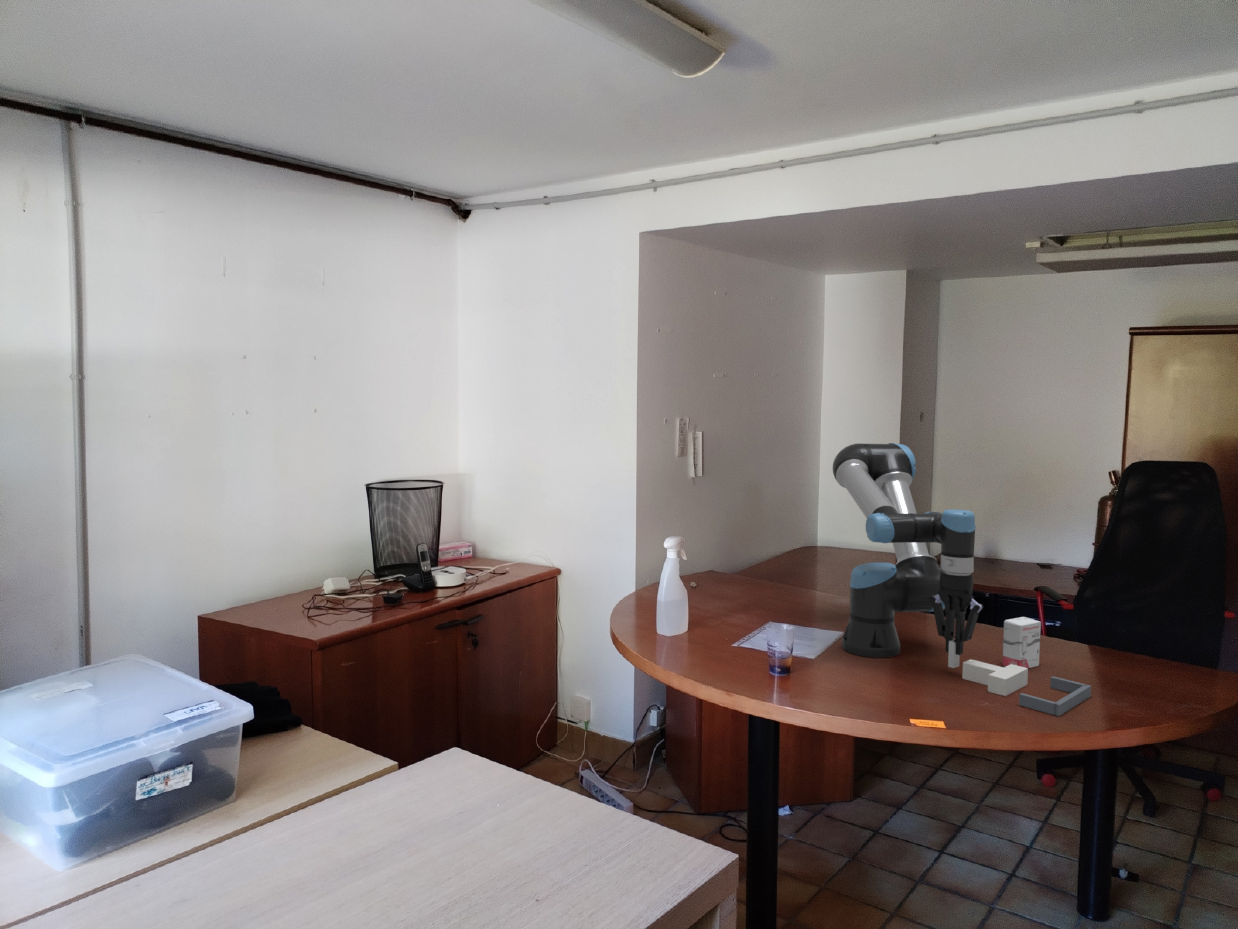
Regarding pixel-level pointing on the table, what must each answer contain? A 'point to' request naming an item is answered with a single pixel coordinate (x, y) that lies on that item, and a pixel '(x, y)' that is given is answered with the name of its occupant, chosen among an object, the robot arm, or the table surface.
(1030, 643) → the ink box
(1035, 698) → the dock
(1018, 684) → the t block
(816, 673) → the table surface
